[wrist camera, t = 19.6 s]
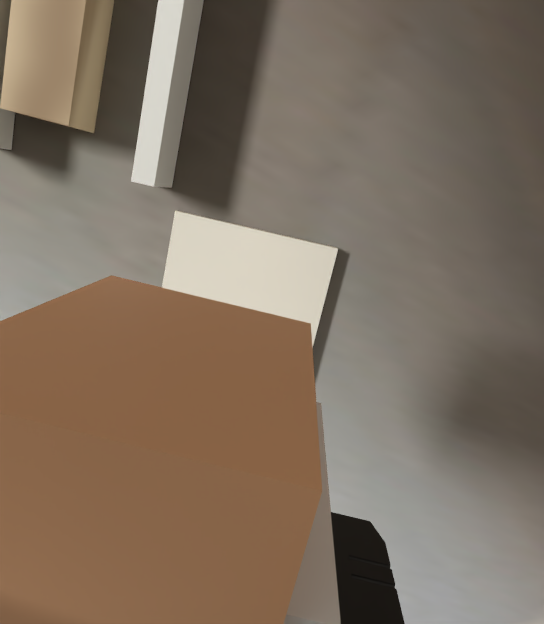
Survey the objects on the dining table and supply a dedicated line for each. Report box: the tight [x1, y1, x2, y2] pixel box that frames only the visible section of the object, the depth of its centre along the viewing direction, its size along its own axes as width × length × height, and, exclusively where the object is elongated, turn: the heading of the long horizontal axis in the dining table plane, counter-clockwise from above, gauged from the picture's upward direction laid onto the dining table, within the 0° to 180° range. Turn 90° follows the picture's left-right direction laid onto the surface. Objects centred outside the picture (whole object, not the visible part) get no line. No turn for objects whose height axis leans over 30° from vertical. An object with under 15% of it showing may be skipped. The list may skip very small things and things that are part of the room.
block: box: [0, 275, 322, 624], centre depth 9 cm, size 5×5×7 cm
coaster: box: [162, 210, 338, 348], centre depth 25 cm, size 8×8×1 cm
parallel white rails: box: [0, 0, 204, 188], centre depth 21 cm, size 9×12×3 cm
